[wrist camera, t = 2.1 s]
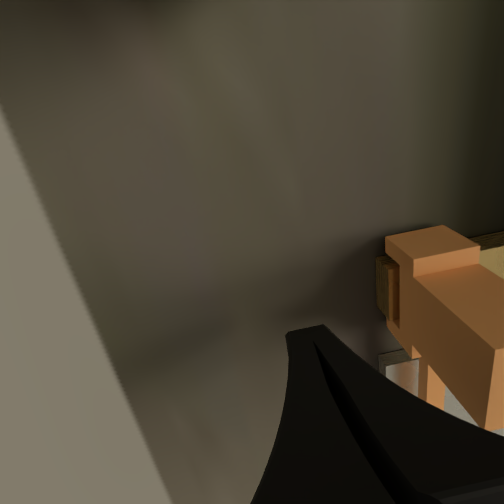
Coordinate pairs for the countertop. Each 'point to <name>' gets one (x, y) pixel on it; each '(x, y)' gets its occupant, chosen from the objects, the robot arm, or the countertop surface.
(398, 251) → the slider leg
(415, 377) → the bolt plate
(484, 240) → the rail
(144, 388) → the countertop surface
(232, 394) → the countertop surface
